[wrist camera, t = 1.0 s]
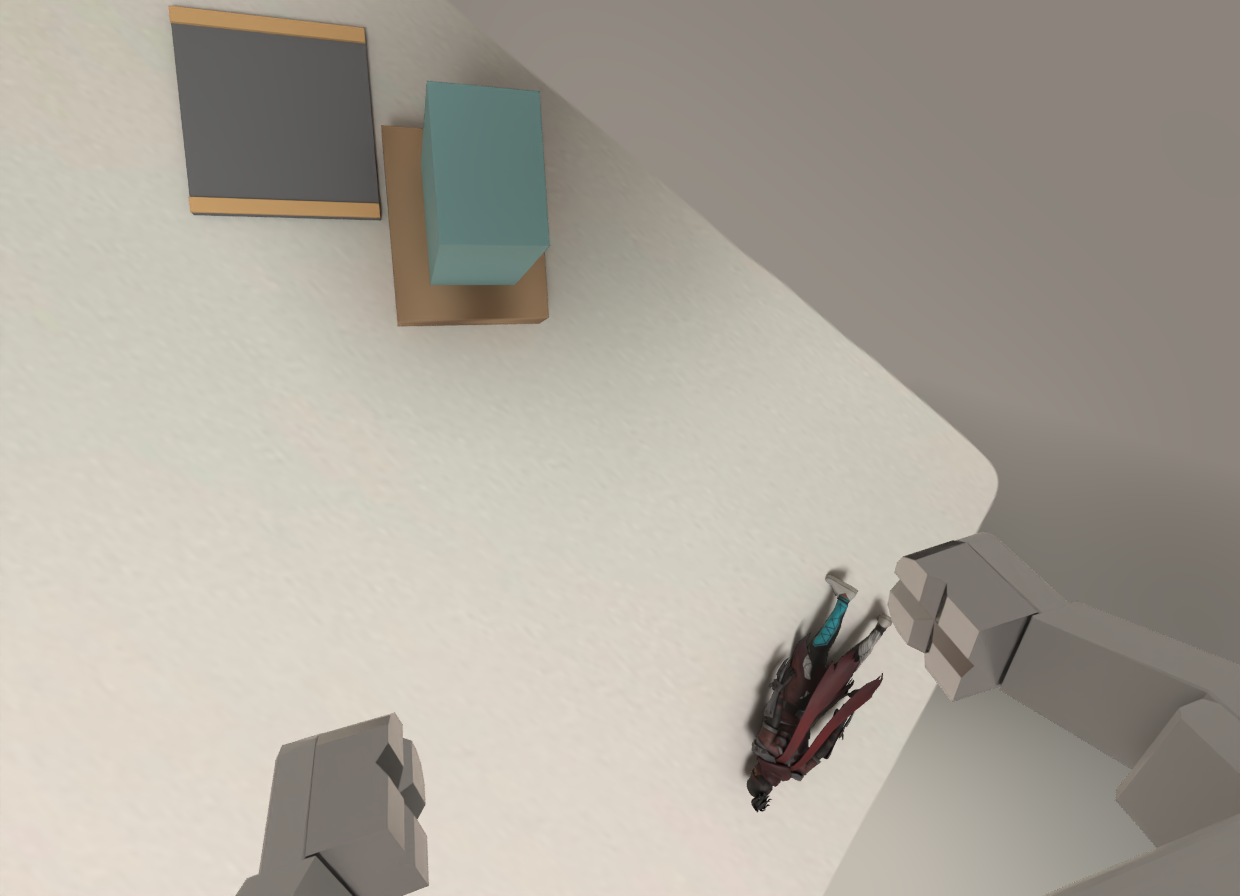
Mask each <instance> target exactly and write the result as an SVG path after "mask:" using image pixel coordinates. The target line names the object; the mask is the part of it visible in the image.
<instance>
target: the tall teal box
mask: <svg viewBox="0 0 1240 896" xmlns="http://www.w3.org/2000/svg"><path fill="white" fill-rule="evenodd" d="M421 174H422V186H423V199H424V211H425V224H426V236H427V249H428V261H429V274H430V285H515V284H516V283H517V282H518V281H519V280H520V279H521V277H522V276H523V275H524V274H525V273H526V272H527V271H528V270H529V269H530V267H531V266H532V265H533V264H534V263H535V262H536V261H537V260H538V258H539V257H540V256H541V255H542V254H543V253H544V252H545V251H546V249H547V248H548V247H549V246H550V243H549V228H548V213H547V198H546V183H545V167H544V152H543V137H542V122H541V107H540V91H530V90H519V89H509V88H498V87H487V86H477V85H466V84H455V83H444V82H434V81H427V86H426V99H425V113H424V126H423V139H422V153H421Z"/></svg>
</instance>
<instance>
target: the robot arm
mask: <svg viewBox="0 0 1240 896" xmlns="http://www.w3.org/2000/svg"><path fill="white" fill-rule="evenodd" d="M894 573H895V574H896V575H897V576H898V578H899V579H900V580H899V581H898V582H897V583H896V585H895V586H894V587H893V588H892V589H891V590H890V594H889V600H888V608H889V612H890V616H891V620H892V622H893V624H894V626H895V628H896V630H897V632H898V633H899V634H900V636H901V637H902V638H903V640H904V641H905V642H906V644H907V645H909V646H911V647H913V648H915V649H917V650H919V651H921V652H923V653H924V655H925V668H926V669H927V671H928V672H929V673H930V674H931V676H932V677H933V678H934V680H935V681H936V682H937V683H938V685H939V686H940V687H941V688H942V690H943V691H944V692H945V693H946V695H947V696H948V697H949V698H950V700H951V701H952V702H953V701H957V700H960V699H963V698H966V697H969V696H973V695H976V694H979V693H982V692H985V691H988V690H991V689H995V688H998V687H1000V689H999V690H1000V691H1002V692H1003V693H1005V694H1007V695H1009V696H1010V697H1012V698H1013V699H1015V700H1017V701H1018V702H1020V703H1022V704H1023V705H1025V706H1027V707H1028V708H1030V709H1032V710H1034V711H1035V712H1037V713H1038V714H1040V715H1042V716H1044V717H1045V718H1047V719H1048V720H1050V721H1052V722H1053V723H1055V724H1057V725H1059V726H1060V727H1062V728H1064V729H1065V730H1067V731H1068V732H1070V733H1072V734H1074V735H1075V736H1077V737H1078V738H1080V739H1082V740H1083V741H1085V742H1087V743H1088V744H1090V745H1092V746H1093V747H1095V748H1097V749H1098V750H1100V751H1102V752H1103V753H1105V754H1107V755H1108V756H1110V757H1112V758H1113V759H1115V760H1117V761H1118V762H1120V763H1122V764H1123V765H1125V766H1127V767H1128V768H1130V769H1132V770H1131V771H1130V773H1129V774H1128V775H1127V776H1126V778H1125V779H1124V780H1123V782H1122V783H1121V784H1120V786H1119V787H1118V788H1117V789H1116V802H1117V803H1118V804H1119V805H1120V806H1121V807H1122V808H1123V809H1124V811H1125V812H1126V813H1127V814H1128V815H1129V816H1130V818H1131V819H1132V820H1133V821H1134V822H1135V823H1136V825H1137V826H1139V828H1140V829H1141V830H1142V831H1143V833H1144V834H1145V835H1146V836H1147V837H1148V838H1149V839H1150V841H1151V842H1152V843H1153V844H1154V845H1155V846H1156V847H1157V848H1155V849H1153V850H1150V851H1148V852H1146V853H1143V854H1141V855H1138V856H1136V857H1134V858H1131V859H1129V860H1127V861H1124V862H1122V863H1119V864H1117V865H1115V866H1112V867H1110V868H1107V869H1105V870H1103V871H1100V872H1098V873H1095V874H1093V875H1091V876H1088V877H1086V878H1083V879H1081V880H1079V881H1076V882H1074V883H1072V884H1069V885H1067V886H1064V887H1062V888H1059V889H1057V890H1055V891H1052V892H1050V893H1048V894H1045V895H1043V896H1240V665H1238V664H1236V663H1233V662H1231V661H1228V660H1226V659H1223V658H1221V657H1218V656H1216V655H1213V654H1211V653H1208V652H1205V651H1203V650H1200V649H1198V648H1195V647H1193V646H1190V645H1187V644H1185V643H1183V642H1180V641H1178V640H1175V639H1172V638H1170V637H1167V636H1165V635H1162V634H1160V633H1157V632H1155V631H1152V630H1150V629H1147V628H1144V627H1142V626H1140V625H1137V624H1134V623H1132V622H1129V621H1127V620H1124V619H1122V618H1119V617H1117V616H1114V615H1111V614H1109V613H1107V612H1104V611H1101V610H1099V609H1096V608H1094V607H1091V606H1089V605H1086V604H1083V603H1081V602H1078V601H1076V602H1072V603H1068V602H1067V601H1066V600H1065V599H1064V598H1063V597H1062V596H1060V595H1059V594H1058V593H1057V592H1056V591H1055V590H1054V589H1053V588H1052V587H1051V586H1050V585H1049V584H1047V583H1046V582H1045V581H1044V580H1043V579H1042V578H1041V577H1040V576H1039V575H1037V574H1036V573H1035V572H1034V571H1033V570H1032V569H1031V568H1030V567H1029V566H1027V564H1025V563H1024V562H1023V561H1022V560H1021V559H1020V558H1019V557H1018V556H1016V554H1014V553H1013V552H1012V551H1011V550H1010V549H1009V548H1008V547H1007V546H1006V545H1004V544H1003V543H1002V542H1001V541H1000V540H999V539H998V538H997V537H995V536H994V535H992V534H990V533H987V532H983V533H977V534H974V535H971V536H968V537H965V538H962V539H959V540H956V541H954V540H952V541H949V542H946V543H943V544H940V545H937V546H934V547H931V548H928V549H925V550H922V551H919V552H915V553H912V554H909V555H906V556H903V557H902V558H901V559H900V560H899V561H898V562H897V564H896V568H895V572H894ZM425 804H426V802H425V785H424V778H423V772H422V767H421V762H420V759H419V756H418V753H417V750H416V748H415V746H414V744H413V742H412V741H411V740H408V739H405V738H403V724H402V723H401V721H400V720H399V718H398V717H397V715H396V713H391V714H388V715H384V716H381V717H378V718H374V719H371V720H367V721H364V722H360V723H357V724H354V725H350V726H347V727H343V728H340V729H336V730H333V731H330V732H326V733H321V734H318V735H315V736H311V737H308V738H305V739H302V740H298V741H295V742H292V743H288V744H285V745H282V747H281V749H280V752H279V754H278V756H277V758H276V761H275V768H274V775H273V782H272V788H271V795H270V802H269V808H268V815H267V822H266V828H265V835H264V842H263V849H262V855H261V862H260V869H259V874H257V875H254V876H252V877H249V878H247V879H246V880H245V882H244V883H243V885H242V886H241V888H240V890H239V891H238V893H237V894H236V896H403V895H406V894H408V893H411V892H414V891H416V890H419V889H422V888H424V887H427V886H429V876H428V849H427V835H426V833H425V832H424V830H423V829H422V827H421V825H420V824H419V822H418V820H417V819H418V817H419V815H420V814H421V812H422V810H423V808H424V806H425Z"/></svg>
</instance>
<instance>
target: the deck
mask: <svg viewBox="0 0 1240 896" xmlns="http://www.w3.org/2000/svg"><path fill="white" fill-rule="evenodd" d="M381 128H382V142H383V154H384V166H385V178H386V190H387V202H388V214H389V226H390V238H391V249H392V261H393V273H394V285H395V297H396V309H397V321H398V326H439V325H489V324H539V323H541V322H542V321H544V320H545V319H547V318H549V313H548V298H547V283H546V268H545V253H543V254H542V255H541V256H540V257H539V258H538V260H537V261H536V262H535V263H534V264H533V265H532V266H531V267H530V269H529V270H528V271H527V272H526V273H525V274H524V275H523V276H522V277H521V279H520V280H519V281H518V282H517V283H516V284H515V285H430V274H429V261H428V249H427V236H426V224H425V211H424V199H423V186H422V174H421V153H422V139H423V128H411V127H397V126H383V125H381Z"/></svg>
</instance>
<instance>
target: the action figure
mask: <svg viewBox="0 0 1240 896" xmlns="http://www.w3.org/2000/svg"><path fill="white" fill-rule="evenodd" d="M825 580H826V582H827V583H829V584H830V585H831V586H832V587H833V589H834V591H835V592H834V591H833V592H834V594H835V593H836V594H835V596H837V599H838V600H837V603H836V606H835V608H834V610H833V612H832V614H831V615H830V616H829V618H828V619H827V620H826V622H825V624H824V625H823V627H822V628H821V630H820V631H819V632H818V634H817V635H816V636H815V637H814V639H813V640H812V642H811V643H810V645H809V648H808V650H807V646H806V641H807V638H808V637H809V635H810V633H809V634H808V635H807V636H806V637H804V638H803V639H802V640H801V641H800V642H799V644H798V646H797V648H796V650H795V652H794V656H793V662H792V661H791V660H792V659H791V660H789V661H788V662H787V663H786V661H787V660H788V659H789V658H788V659H786V660H785V661H784V662H783V664H782V665H781V666H780V668H779V670H778V672H777V674H776V675H777V679H774V682H773V683H771V684H770V685H769V686H770V687H772V689H773V690H774V692H773V694H772V697H771V699H770V701H769V703H768V704H767V706H766V708H765V711H764V714H763V715H764V716H767V720H763V724H762V728H761V730H760V732H759V734H758V736H756V739H755V740H754V742H753V743H752V751H753V752H754V753H755V754H756V755H757V760H758V764H757V765H756V766H755V769H753V770H752V772H751V776H750V778H749V780H748V781H747V789H748V791H749V793H750V794H751V795H752V796H753V797H755V798H754V799H752V801H751V802H752V806H753V808H754V809H755V811H757V812H758V810H760V811H765V810H762V809H765V808H766V807H767V806H770V805H769V804H767V802H770V801H769V800H772V799H769V800H768V801H767V798H768V797H769V796H767V795H768V794H769V793H770V792H771V791H772V788H773V787H772V786H775V787H776V786H777V785H778V784H779V783H780V781H781V780H782V781H787V780H789V779H790V778H793V779H795V780H798V781H801V780H802V779H803V777H804V775H806V773H808V772H809V771H810V770H811V769H812V768H814V767H815V766H816V765H818V764H819V763H820V762H821V761H820V759H821V758H824V759H828V758H829V756H830V755H831V752H832V750H833V748H834V745H835V743H836V741H837V739H838V738H841V736H842V740H843V732H844V729H845V727H847V726H848V724H849V722H850V720H851V718H852V716H853V714H854V711H855V710H857V709H858V708H859V707H860V706H862V705H863V704H864V703H865V702H867V701H868V700H869V699H870V698H872V697H871V696H872V695H873V693H874V692H875V690H876V689H877V688H878V687H879V686H880V684H881V682H882V680H883V673H882V676H881V675H880V676H881V680H879V678H880V676H879V677H878V678H877V679H876V680H874V681H871V682H869V683H867V684H866V685H864V686H863V687H862V688H860V689H857V690H853V691H852V692H851V693H848V690H849V689H850V688H851V687H852V685H853V683H854V680H853V681H852V682H851V680H852V679H851V680H850V678H851V677H852V676H853V673H854V672H855V671H856V670H857V669H858V668H859V666H860V665H861V664H862V662H863V661H864V660H865V659H866V658H867V657H868V655H869V654H870V653H871V651H872V649H873V647H874V645H875V644H876V643H877V641H878V640H879V639H880V637H881V636H882V635H883V632H884V631H885V630H886V629H887V627H889V626H891V624H892V620H891V617H889V616H888V615H885V614H882V615H880V616H879V618H878V623H877V625H876V627H875V628H874V629H873V631H872V632H871V633H870V635H869V636H868V637H866V638H865V639H864V640H863V641H861V642H860V643H859V644H857V645H856V646H854V647H853V648H852V649H851V650H850V651H848V652H847V653H846V654H845V655H844V656H842V657H841V659H840V660H839V661H838V662H837V663H836V664H833V661H832V662H831V664H830V666H829V667H828V669H827V670H826V667H825V665H826V661H827V656H828V651H829V649H830V647H831V646H832V644H833V643H834V641H835V639H836V637H837V635H838V632H839V630H840V628H841V623H842V619H843V616H844V614H845V612H846V609H847V607H848V603H849V602H850V600H852V599H853V598H854V597H855V596H856V594H857V592H858V590H857V589H855V588H854V587H852V586H850V585H848V584H846V583H845V582H843V581H841V580H839V579H838V578H836V577H834V576H832V575H827V576H826V578H825ZM790 661H791V662H790ZM789 662H790V668H788V669H787V670H786V668H787V666H788V664H789ZM785 670H786V671H785ZM849 680H850V682H851V684H849V683H850V682H849ZM848 682H849V683H848ZM847 683H848V685H847ZM769 686H768V687H769ZM845 696H849V697H850V699H849V700H848V701H847V702H846V703H845V704H843V706H842V707H841V708H840V710H839V711H838V708H837V709H836V710H835V712H834V715H833V717H832V719H831V720H830V721H829V722H828V723H827V724H826V726H825V727H824V728H823V729H822V731H821V732H820V733H819V735H818V736H817V737H816V739H815V740H814V742H813V743H812V745H811V746H810V747H808V740H809V739H810V729H811V728H812V727H813V726H814V725H815V723H816V721H817V720H819V719H820V718H821V717H822V716H823V715H824V714H825V713H826V712H827V711H828V710H829V709H831V708H832V707H833V706H834V705H835V704H836V703H837V702H838V701H839V700H840V699H842V698H844V697H845ZM850 715H851V716H850ZM849 716H850V717H849ZM848 717H849V719H848V721H847V718H848ZM846 721H847V722H846ZM845 722H846V724H845ZM844 724H845V725H844ZM843 726H844V727H843ZM766 804H767V805H766ZM765 806H766V807H765Z"/></svg>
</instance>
